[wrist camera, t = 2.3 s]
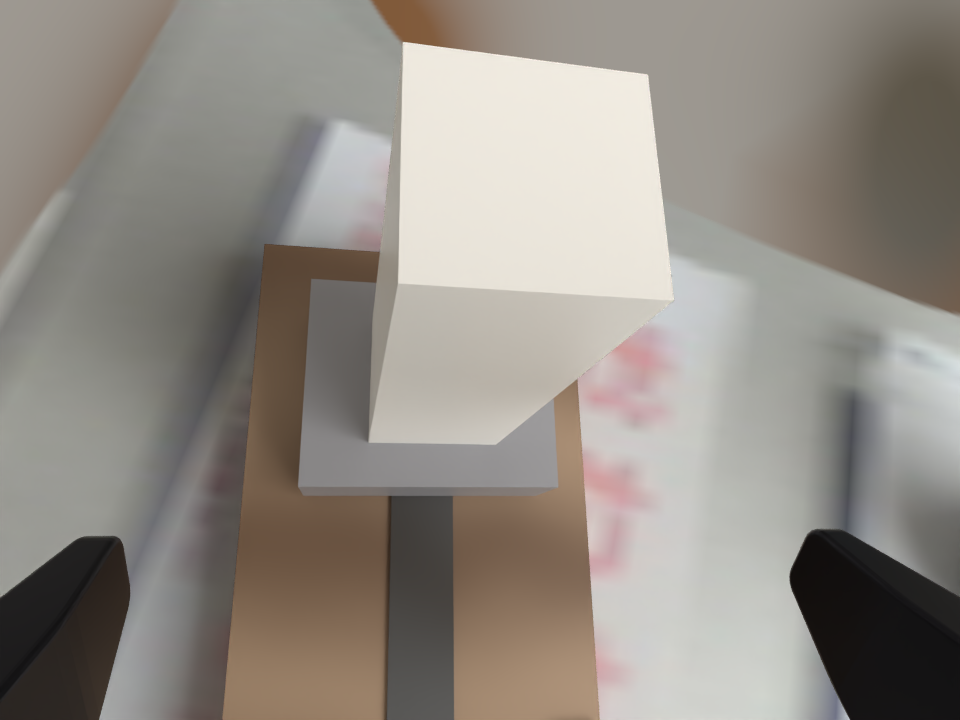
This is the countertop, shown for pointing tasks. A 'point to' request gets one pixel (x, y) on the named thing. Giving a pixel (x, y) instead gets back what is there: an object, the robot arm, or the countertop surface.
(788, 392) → the countertop surface
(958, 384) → the countertop surface
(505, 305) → the fader tab
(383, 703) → the brown slider track board
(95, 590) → the robot arm
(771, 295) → the countertop surface
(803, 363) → the countertop surface
